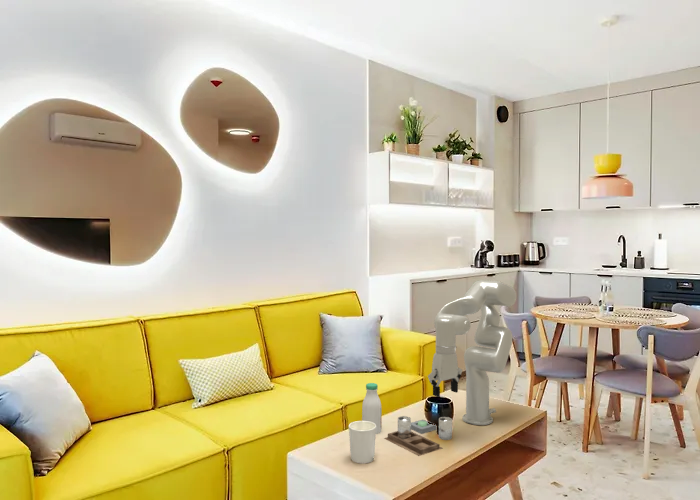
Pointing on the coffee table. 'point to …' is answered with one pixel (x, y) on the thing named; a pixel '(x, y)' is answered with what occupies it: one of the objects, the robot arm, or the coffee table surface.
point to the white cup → (362, 441)
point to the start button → (422, 423)
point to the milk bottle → (372, 407)
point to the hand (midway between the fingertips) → (445, 393)
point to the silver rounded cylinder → (445, 428)
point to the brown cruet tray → (414, 443)
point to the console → (423, 429)
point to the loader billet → (404, 427)
